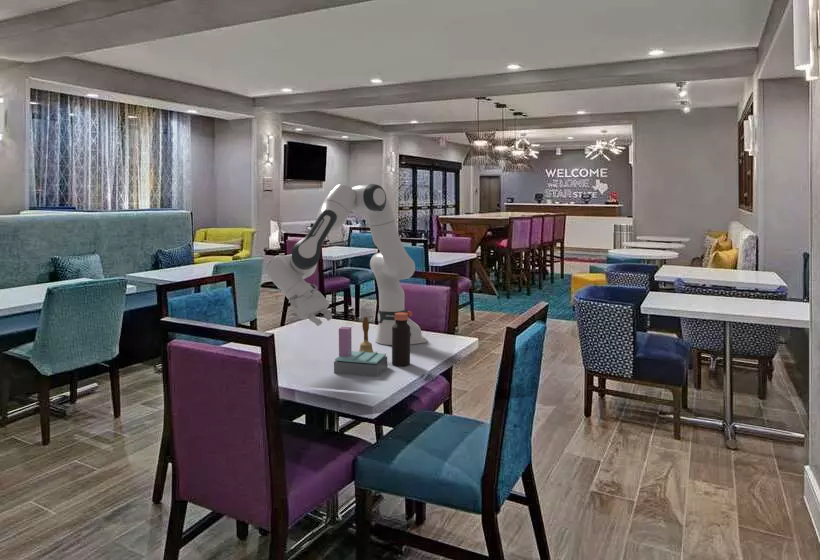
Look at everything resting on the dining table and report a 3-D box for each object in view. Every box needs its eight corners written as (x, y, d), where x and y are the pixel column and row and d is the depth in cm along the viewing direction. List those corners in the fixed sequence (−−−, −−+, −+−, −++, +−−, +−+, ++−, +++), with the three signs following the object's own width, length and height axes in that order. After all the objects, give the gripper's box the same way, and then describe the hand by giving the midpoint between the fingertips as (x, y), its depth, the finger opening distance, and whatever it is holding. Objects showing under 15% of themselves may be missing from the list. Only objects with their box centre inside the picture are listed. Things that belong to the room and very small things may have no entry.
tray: (387, 369, 211) (387, 356, 211) (377, 378, 200) (377, 365, 199) (346, 365, 215) (345, 353, 214) (334, 375, 204) (333, 361, 203)
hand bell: (373, 360, 224) (373, 319, 221) (353, 358, 225) (352, 318, 223) (378, 354, 232) (378, 315, 230) (358, 353, 233) (358, 314, 231)
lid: (386, 355, 210) (386, 326, 209) (376, 363, 199) (376, 333, 198) (346, 352, 214) (346, 324, 213) (334, 360, 203) (334, 331, 202)
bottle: (413, 365, 217) (413, 312, 214) (405, 369, 211) (405, 315, 208) (396, 362, 220) (397, 311, 217) (388, 367, 214) (388, 314, 211)
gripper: (292, 292, 199) (319, 321, 198) (316, 284, 218) (341, 311, 217) (281, 304, 200) (307, 333, 199) (306, 295, 220) (330, 322, 219)
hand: (325, 321), depth 208 cm, fingers open, 8 cm apart
